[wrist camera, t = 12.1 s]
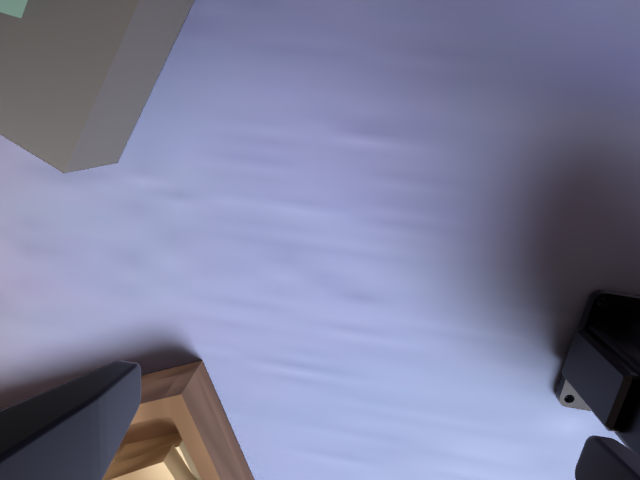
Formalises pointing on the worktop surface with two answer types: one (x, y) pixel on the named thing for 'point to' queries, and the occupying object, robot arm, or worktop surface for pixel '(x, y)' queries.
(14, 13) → the mint green block
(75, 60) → the plinth
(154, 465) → the offcut upper
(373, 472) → the worktop surface
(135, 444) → the offcut lower
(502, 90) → the worktop surface
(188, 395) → the rack
